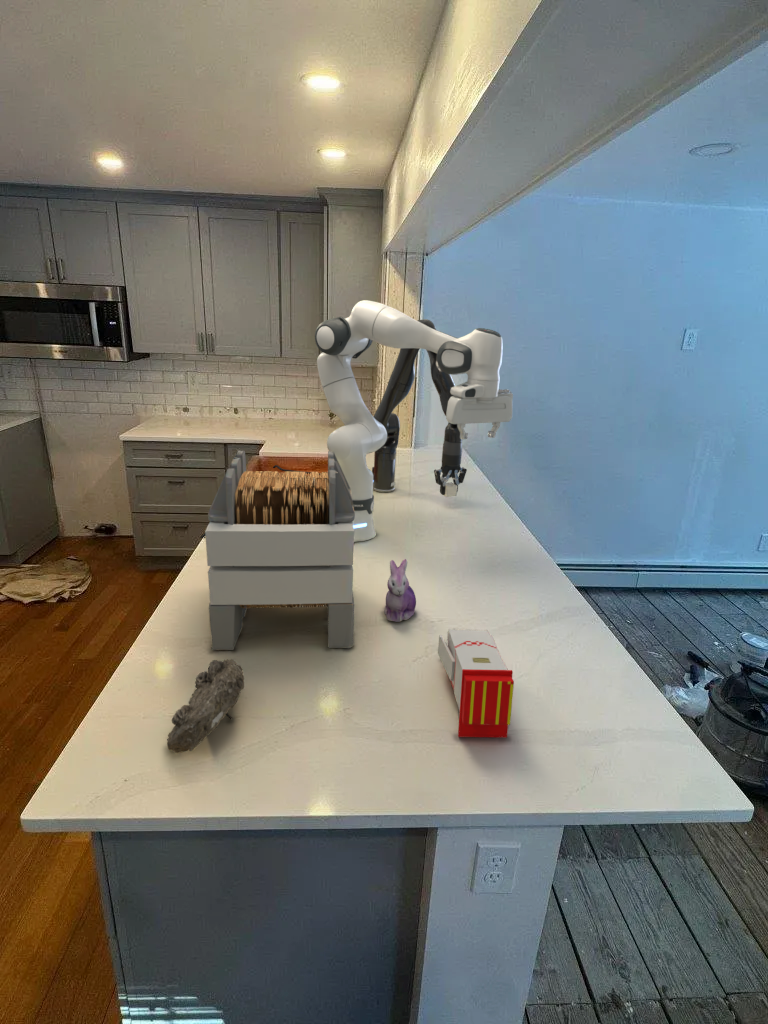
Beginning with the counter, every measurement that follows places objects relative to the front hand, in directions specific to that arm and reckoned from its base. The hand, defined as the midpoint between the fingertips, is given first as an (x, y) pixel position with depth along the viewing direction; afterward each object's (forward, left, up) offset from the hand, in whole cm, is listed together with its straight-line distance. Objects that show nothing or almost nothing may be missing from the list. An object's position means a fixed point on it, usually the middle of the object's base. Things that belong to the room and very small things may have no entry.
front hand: (477, 438), depth 164 cm
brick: (-15, +52, -35) cm, 64 cm away
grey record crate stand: (-39, -46, -41) cm, 73 cm away
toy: (+10, -62, -41) cm, 75 cm away
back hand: (-15, +52, -34) cm, 64 cm away
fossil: (-36, -86, -41) cm, 102 cm away
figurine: (-12, -36, -41) cm, 56 cm away
